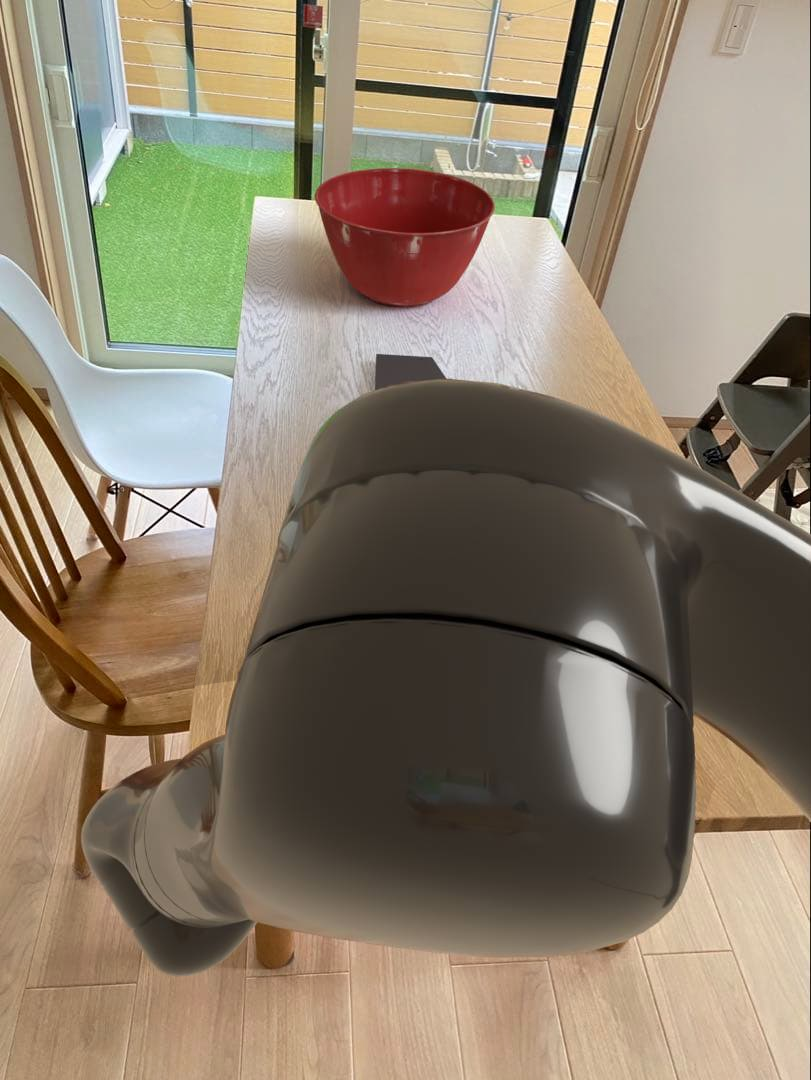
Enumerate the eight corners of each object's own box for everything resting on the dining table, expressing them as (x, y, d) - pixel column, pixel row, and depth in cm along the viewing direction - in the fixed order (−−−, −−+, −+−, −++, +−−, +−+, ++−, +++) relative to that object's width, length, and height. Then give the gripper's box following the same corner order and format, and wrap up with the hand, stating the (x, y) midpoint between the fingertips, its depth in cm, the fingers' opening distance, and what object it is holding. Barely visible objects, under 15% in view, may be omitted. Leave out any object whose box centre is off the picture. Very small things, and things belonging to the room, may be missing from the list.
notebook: (375, 362, 115) (372, 448, 99) (376, 353, 114) (372, 438, 98) (461, 368, 116) (471, 453, 100) (463, 358, 114) (473, 443, 99)
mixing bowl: (330, 333, 120) (331, 233, 110) (304, 257, 141) (302, 166, 130) (503, 325, 127) (519, 229, 116) (454, 252, 147) (464, 165, 136)
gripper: (488, 729, 45) (650, 586, 54) (327, 594, 52) (496, 489, 61) (472, 797, 50) (622, 656, 59) (327, 666, 57) (483, 559, 66)
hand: (557, 572), depth 60 cm, fingers closed on salt shaker, 3 cm apart
